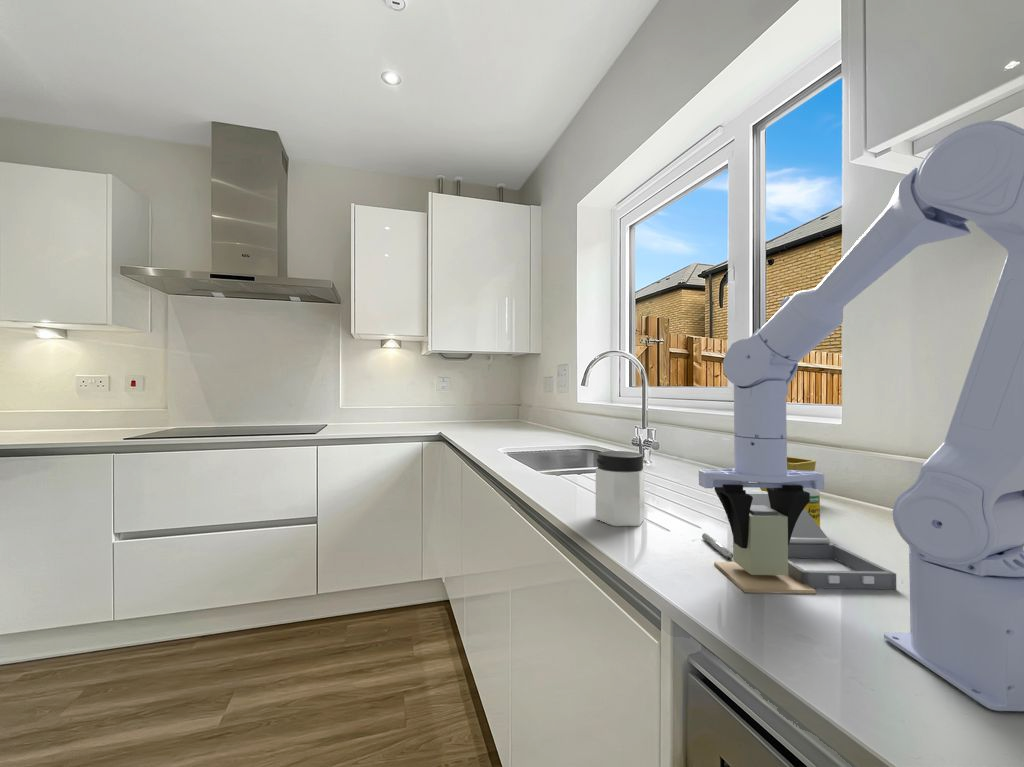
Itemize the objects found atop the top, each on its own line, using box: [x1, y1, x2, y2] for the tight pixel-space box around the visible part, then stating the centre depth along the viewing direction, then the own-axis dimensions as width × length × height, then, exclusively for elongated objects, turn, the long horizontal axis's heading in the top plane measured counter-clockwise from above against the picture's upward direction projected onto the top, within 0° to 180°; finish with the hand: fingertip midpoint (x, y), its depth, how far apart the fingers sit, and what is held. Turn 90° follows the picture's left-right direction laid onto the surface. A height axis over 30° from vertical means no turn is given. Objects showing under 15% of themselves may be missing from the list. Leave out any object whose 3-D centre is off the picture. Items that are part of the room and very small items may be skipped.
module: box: [732, 505, 789, 575], centre depth 54 cm, size 4×4×7 cm
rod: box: [701, 532, 733, 560], centre depth 63 cm, size 8×1×1 cm, turn 178°
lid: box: [748, 494, 831, 544], centre depth 65 cm, size 8×9×7 cm
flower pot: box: [757, 456, 817, 492], centre depth 93 cm, size 9×9×9 cm
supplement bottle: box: [803, 488, 821, 528], centre depth 72 cm, size 5×5×10 cm
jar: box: [595, 450, 645, 527], centre depth 78 cm, size 9×8×12 cm
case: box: [788, 543, 897, 590], centre depth 56 cm, size 10×11×2 cm
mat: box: [713, 561, 817, 595], centre depth 53 cm, size 8×8×1 cm
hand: (760, 545), depth 53 cm, fingers closed on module, 4 cm apart
